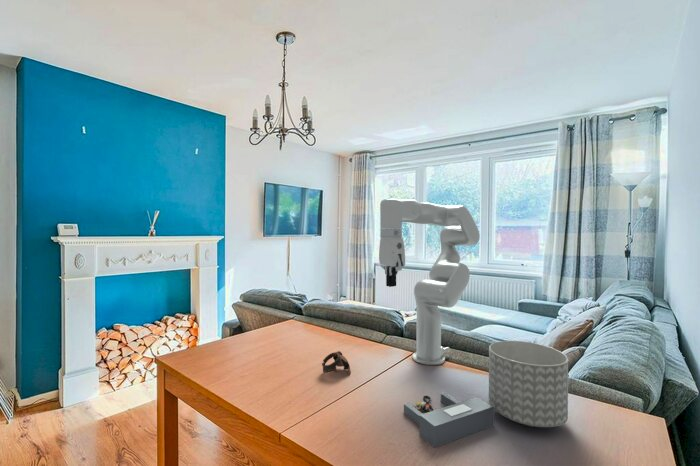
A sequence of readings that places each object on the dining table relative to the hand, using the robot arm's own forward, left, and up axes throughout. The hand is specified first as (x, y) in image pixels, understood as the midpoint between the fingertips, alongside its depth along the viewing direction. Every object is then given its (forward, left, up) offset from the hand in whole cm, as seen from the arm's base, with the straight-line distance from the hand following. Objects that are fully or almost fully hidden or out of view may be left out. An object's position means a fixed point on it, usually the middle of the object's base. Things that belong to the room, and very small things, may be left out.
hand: (391, 286), depth 118 cm
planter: (-18, +39, -32) cm, 54 cm away
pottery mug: (+16, -11, -32) cm, 37 cm away
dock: (+3, +30, -32) cm, 44 cm away
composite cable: (+2, +22, -32) cm, 39 cm away
